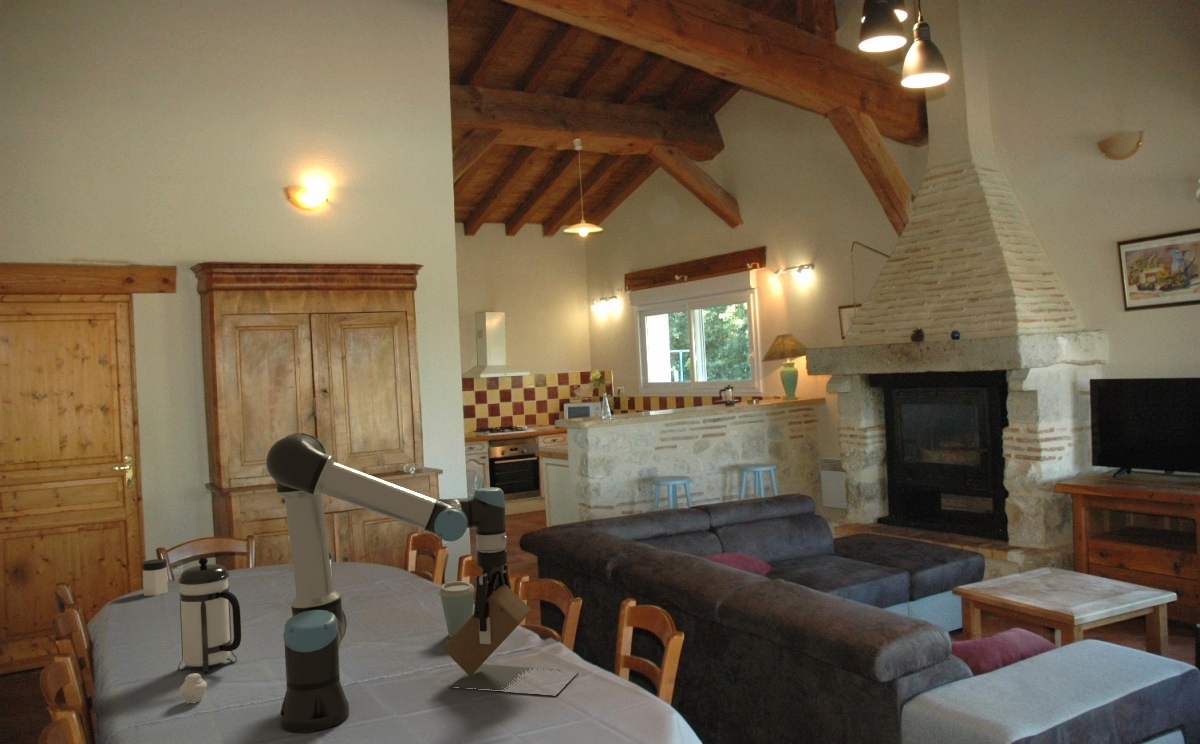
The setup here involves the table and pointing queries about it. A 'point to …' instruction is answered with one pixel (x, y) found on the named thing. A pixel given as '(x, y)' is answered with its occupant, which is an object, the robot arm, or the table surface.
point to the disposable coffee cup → (457, 604)
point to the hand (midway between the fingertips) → (495, 636)
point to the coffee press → (207, 616)
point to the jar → (155, 577)
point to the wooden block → (503, 621)
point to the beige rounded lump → (193, 688)
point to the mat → (491, 677)
